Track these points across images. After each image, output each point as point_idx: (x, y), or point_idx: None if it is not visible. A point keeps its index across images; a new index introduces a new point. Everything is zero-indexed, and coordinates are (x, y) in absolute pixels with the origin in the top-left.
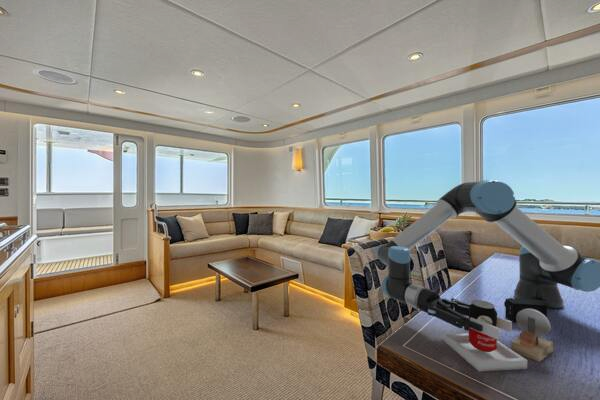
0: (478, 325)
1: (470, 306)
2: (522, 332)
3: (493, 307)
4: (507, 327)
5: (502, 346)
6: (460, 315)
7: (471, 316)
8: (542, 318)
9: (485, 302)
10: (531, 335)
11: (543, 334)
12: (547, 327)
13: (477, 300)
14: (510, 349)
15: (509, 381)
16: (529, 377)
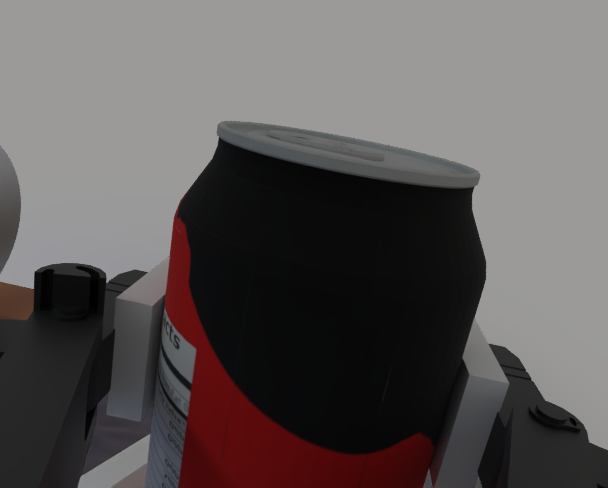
0: (513, 358)
1: (442, 254)
2: (3, 313)
3: (353, 140)
4: None
5: (131, 475)
6: (578, 479)
7: (455, 368)
8: (1, 157)
9: (257, 132)
10: (30, 293)
11: (5, 256)
12: (18, 201)
13: (258, 144)
14: (146, 439)
15: (425, 480)
16: None
